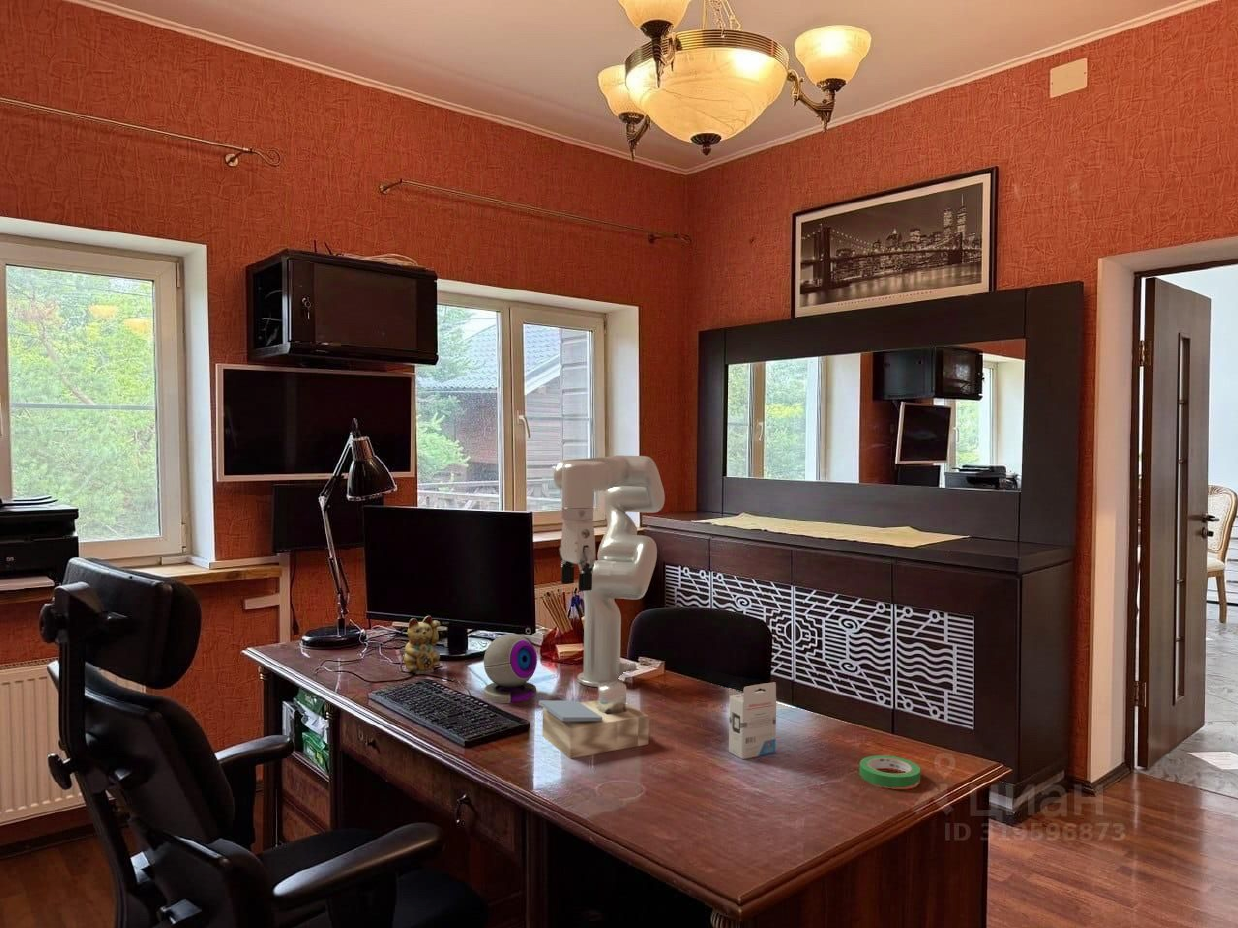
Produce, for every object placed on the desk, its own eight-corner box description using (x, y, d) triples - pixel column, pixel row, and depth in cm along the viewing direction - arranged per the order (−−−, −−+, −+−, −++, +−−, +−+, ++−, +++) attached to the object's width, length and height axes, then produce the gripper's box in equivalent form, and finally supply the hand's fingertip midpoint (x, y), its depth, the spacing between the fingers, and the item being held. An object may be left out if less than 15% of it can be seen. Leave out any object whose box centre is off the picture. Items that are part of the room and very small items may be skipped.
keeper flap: (576, 704, 185) (577, 700, 185) (601, 721, 174) (602, 717, 174) (538, 704, 180) (539, 700, 180) (562, 721, 170) (562, 717, 170)
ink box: (761, 745, 179) (763, 675, 179) (776, 753, 175) (777, 681, 174) (727, 751, 175) (729, 680, 175) (741, 759, 171) (743, 686, 170)
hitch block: (616, 723, 191) (617, 697, 191) (648, 744, 178) (648, 715, 178) (542, 735, 182) (542, 707, 182) (570, 758, 170) (570, 728, 170)
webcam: (509, 706, 202) (510, 643, 201) (472, 695, 209) (472, 634, 209) (546, 693, 212) (547, 633, 211) (509, 683, 220) (510, 626, 219)
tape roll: (849, 778, 163) (849, 765, 163) (875, 763, 171) (875, 750, 171) (904, 796, 155) (905, 781, 155) (929, 779, 164) (930, 765, 163)
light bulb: (617, 728, 186) (617, 680, 186) (630, 736, 181) (631, 687, 181) (592, 732, 184) (593, 683, 183) (605, 741, 178) (606, 691, 178)
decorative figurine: (410, 676, 224) (411, 620, 224) (397, 669, 230) (397, 614, 230) (444, 671, 230) (444, 615, 230) (430, 664, 237) (430, 610, 236)
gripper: (608, 518, 196) (606, 592, 197) (576, 511, 211) (574, 580, 212) (578, 519, 192) (577, 594, 193) (548, 512, 208) (547, 582, 208)
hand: (576, 586), depth 202 cm, fingers open, 9 cm apart
